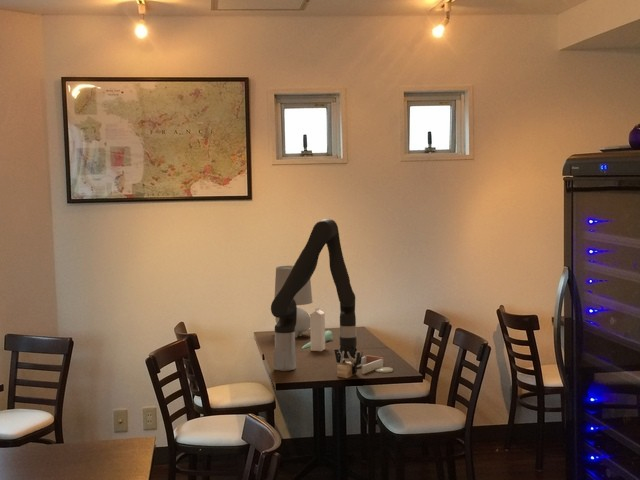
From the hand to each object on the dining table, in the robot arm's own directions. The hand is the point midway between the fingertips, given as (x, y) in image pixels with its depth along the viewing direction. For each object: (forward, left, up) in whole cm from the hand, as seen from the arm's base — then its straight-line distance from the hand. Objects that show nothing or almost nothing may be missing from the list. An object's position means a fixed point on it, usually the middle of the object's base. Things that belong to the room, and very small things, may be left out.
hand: (348, 373), depth 309 cm
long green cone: (+43, +52, -1) cm, 67 cm away
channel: (+13, 0, -1) cm, 13 cm away
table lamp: (+53, +76, -1) cm, 93 cm away
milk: (+32, +42, -1) cm, 53 cm away
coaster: (+14, -9, -1) cm, 17 cm away
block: (-2, 0, -1) cm, 2 cm away
